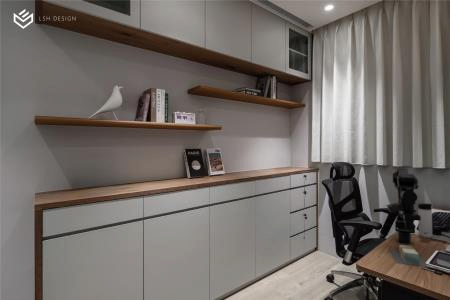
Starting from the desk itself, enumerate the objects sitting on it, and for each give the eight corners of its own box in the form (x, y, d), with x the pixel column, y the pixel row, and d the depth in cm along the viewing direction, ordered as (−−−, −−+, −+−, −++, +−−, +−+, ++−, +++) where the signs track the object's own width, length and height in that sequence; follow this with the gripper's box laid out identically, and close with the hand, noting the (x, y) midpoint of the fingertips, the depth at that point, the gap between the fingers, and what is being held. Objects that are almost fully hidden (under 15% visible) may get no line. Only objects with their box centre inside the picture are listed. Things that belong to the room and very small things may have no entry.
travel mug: (427, 239, 139) (427, 204, 140) (416, 235, 146) (415, 202, 146) (435, 237, 141) (434, 203, 141) (423, 234, 147) (422, 201, 148)
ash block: (399, 244, 118) (405, 252, 109) (411, 246, 116) (418, 254, 107) (399, 255, 118) (405, 263, 109) (412, 256, 116) (419, 265, 107)
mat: (388, 250, 125) (388, 249, 125) (417, 254, 120) (417, 253, 120) (396, 264, 110) (396, 263, 110) (429, 269, 105) (429, 267, 105)
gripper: (384, 194, 134) (385, 222, 134) (392, 201, 117) (393, 233, 117) (408, 195, 130) (409, 224, 130) (420, 203, 113) (421, 236, 113)
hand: (407, 229), depth 123 cm, fingers closed
